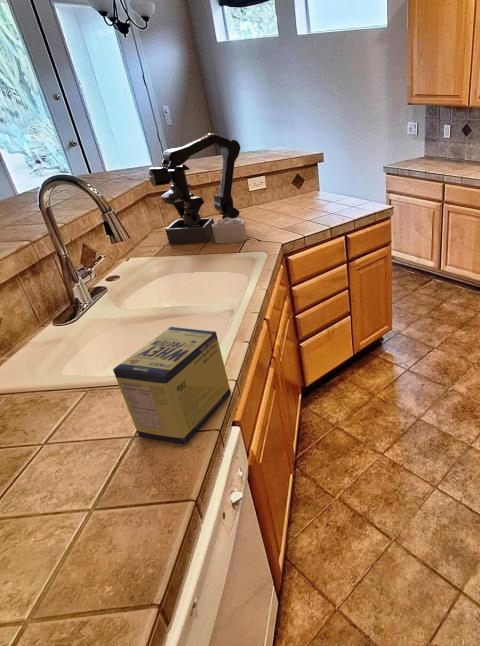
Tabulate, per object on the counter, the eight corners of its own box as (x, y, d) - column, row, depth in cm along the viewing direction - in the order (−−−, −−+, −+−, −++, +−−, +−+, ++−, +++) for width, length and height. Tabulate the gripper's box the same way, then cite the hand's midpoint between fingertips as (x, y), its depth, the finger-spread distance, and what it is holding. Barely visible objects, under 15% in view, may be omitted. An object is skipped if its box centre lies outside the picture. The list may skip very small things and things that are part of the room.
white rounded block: (248, 240, 183) (244, 220, 179) (216, 245, 179) (211, 224, 175) (245, 233, 192) (241, 214, 188) (214, 238, 187) (209, 218, 183)
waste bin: (216, 232, 195) (213, 217, 192) (207, 242, 182) (204, 227, 179) (180, 233, 193) (176, 219, 190) (169, 244, 181) (165, 229, 178)
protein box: (232, 392, 92) (217, 330, 85) (186, 445, 78) (163, 376, 71) (189, 386, 94) (170, 325, 87) (137, 437, 80) (109, 369, 73)
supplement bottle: (198, 236, 185) (193, 208, 181) (183, 236, 185) (178, 208, 181) (206, 233, 191) (201, 206, 187) (191, 233, 191) (186, 206, 187)
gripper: (148, 183, 175) (158, 221, 183) (174, 188, 166) (184, 227, 173) (173, 179, 184) (182, 214, 191) (200, 183, 175) (208, 220, 182)
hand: (189, 219), depth 184 cm, fingers open, 8 cm apart
